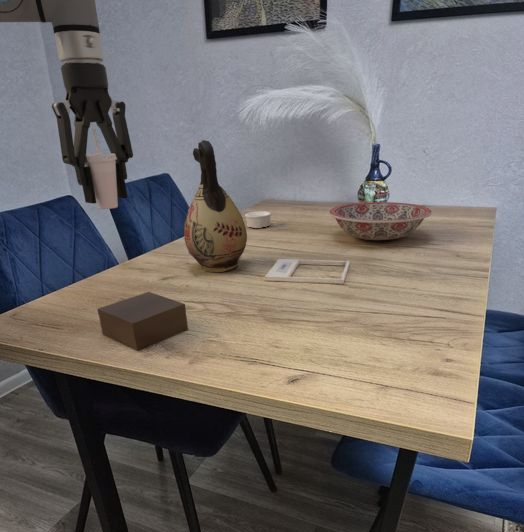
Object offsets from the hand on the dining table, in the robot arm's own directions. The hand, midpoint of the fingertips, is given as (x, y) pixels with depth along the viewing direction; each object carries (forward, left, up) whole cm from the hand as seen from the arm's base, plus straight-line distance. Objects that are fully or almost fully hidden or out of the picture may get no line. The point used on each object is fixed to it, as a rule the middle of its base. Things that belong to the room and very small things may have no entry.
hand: (106, 199), depth 93 cm
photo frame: (+21, +37, -21) cm, 48 cm away
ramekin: (-25, +69, -21) cm, 77 cm away
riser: (+18, -8, -21) cm, 29 cm away
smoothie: (0, 0, -2) cm, 2 cm away
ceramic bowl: (+17, +76, -21) cm, 81 cm away
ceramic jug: (0, +27, -21) cm, 35 cm away
